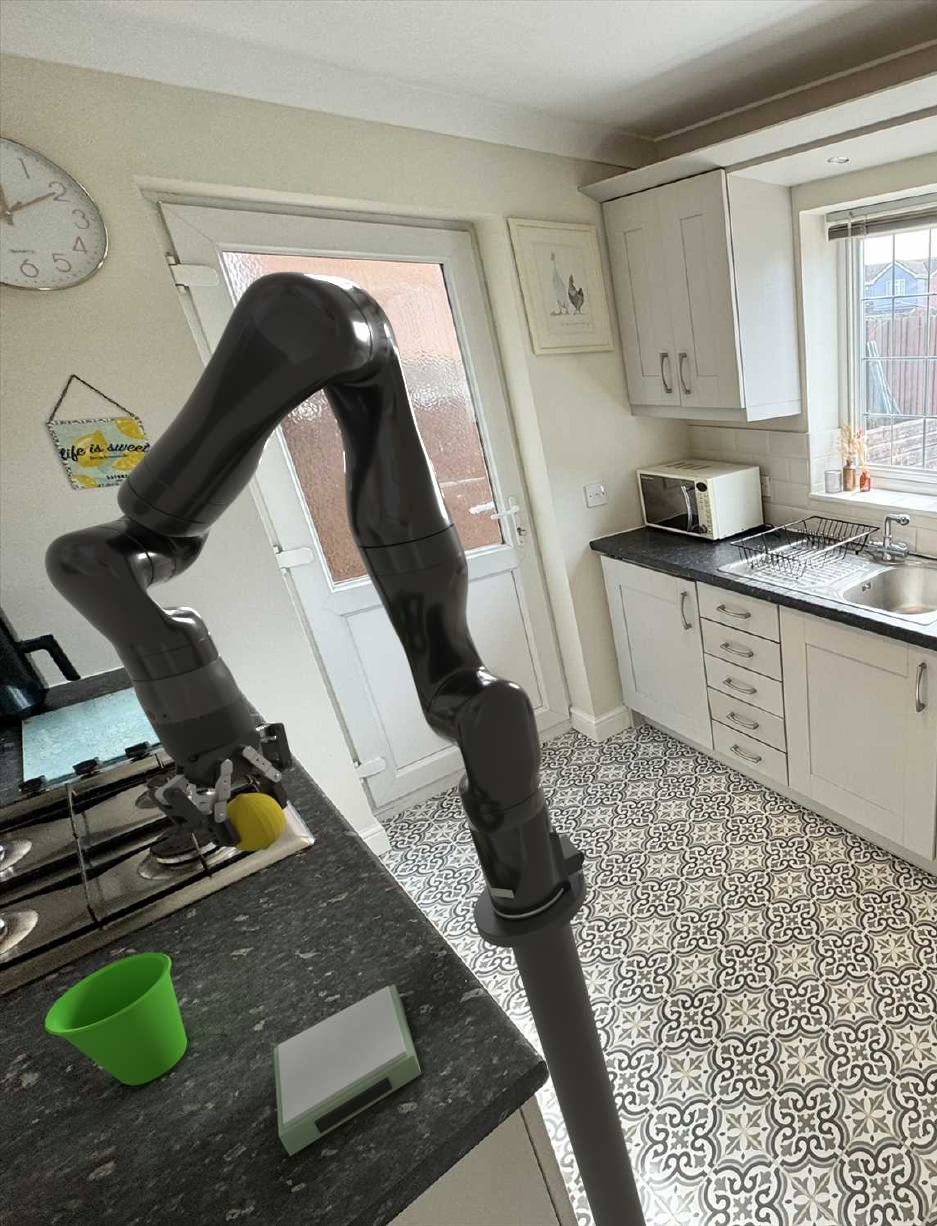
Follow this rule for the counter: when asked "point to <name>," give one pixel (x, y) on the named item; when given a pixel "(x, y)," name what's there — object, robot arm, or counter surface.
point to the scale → (342, 1067)
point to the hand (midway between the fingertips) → (255, 825)
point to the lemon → (256, 820)
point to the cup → (124, 1018)
